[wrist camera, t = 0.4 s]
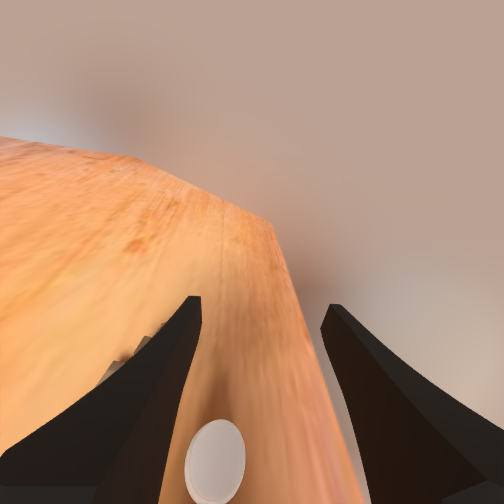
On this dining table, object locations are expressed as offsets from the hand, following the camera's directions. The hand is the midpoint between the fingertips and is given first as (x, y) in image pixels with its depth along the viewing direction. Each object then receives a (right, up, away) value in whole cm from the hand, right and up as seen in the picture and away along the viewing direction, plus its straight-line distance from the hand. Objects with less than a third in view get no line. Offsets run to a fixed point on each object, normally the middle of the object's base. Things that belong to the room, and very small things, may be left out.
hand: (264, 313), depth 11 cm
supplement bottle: (-5, -18, +8) cm, 20 cm away
